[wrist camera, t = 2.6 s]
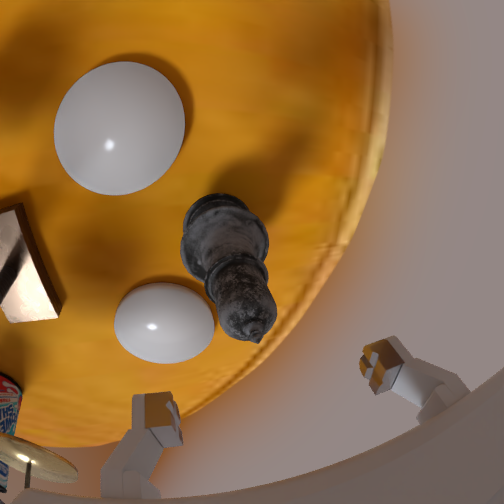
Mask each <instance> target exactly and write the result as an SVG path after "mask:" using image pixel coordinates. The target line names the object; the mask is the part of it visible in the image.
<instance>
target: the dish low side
mask: <svg viewBox="0 0 504 504" xmlns="http://www.w3.org/2000/svg"><path fill="white" fill-rule="evenodd" d="M184 131H185V115H184V109H183V105H182V102H181V99H180V97H179V95H178V93H177V91H176V90H175V88H174V86H173V85H172V84H171V83H170V82H169V80H168V79H167V78H166V77H165V76H163V75H162V74H161V73H160V72H158V71H156V70H155V69H153V68H151V67H149V66H146V65H144V64H140V63H136V62H114V63H109V64H106V65H102V66H100V67H97V68H95V69H93V70H91V71H90V72H88V73H87V74H85V75H84V76H82V77H81V78H80V79H79V80H78V81H77V82H76V83H75V84H74V85H73V86H72V87H71V88H70V89H69V91H68V92H67V93H66V95H65V97H64V98H63V100H62V102H61V104H60V106H59V109H58V112H57V115H56V119H55V125H54V142H55V148H56V152H57V155H58V157H59V160H60V162H61V164H62V166H63V167H64V169H65V170H66V172H67V173H68V174H69V175H70V176H71V177H72V178H73V179H74V180H75V181H76V182H77V183H78V184H80V185H81V186H83V187H85V188H86V189H88V190H91V191H93V192H96V193H100V194H105V195H124V194H129V193H133V192H136V191H139V190H141V189H144V188H146V187H147V186H149V185H151V184H152V183H154V182H155V181H156V180H158V179H159V178H160V177H161V176H162V175H163V174H164V173H165V172H166V171H167V170H168V169H169V168H170V166H171V165H172V163H173V162H174V160H175V159H176V157H177V155H178V153H179V150H180V148H181V145H182V141H183V137H184Z"/></svg>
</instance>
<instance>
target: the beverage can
mask: <svg viewBox="0 0 504 504" xmlns="http://www.w3.org/2000/svg"><path fill="white" fill-rule="evenodd" d="M21 401H22V391H21V389H20V387H19V386H18V384H17V383H16V382H15V381H14V380H12V379H11V378H10V377H8V376H6V375H4V374H2V373H0V432H2V433H6V434H10V435H13V436H14V433H15V428H16V423H17V419H18V414H19V410H20V406H21ZM8 472H9V465H7V464H6V463H4V462H2V461H1V460H0V492H2V493H6V492H7V490H6V487H7V481H8Z"/></svg>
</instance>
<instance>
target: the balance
mask: <svg viewBox="0 0 504 504" xmlns="http://www.w3.org/2000/svg"><path fill="white" fill-rule="evenodd" d="M0 306H1V308H2V310H3V311H4V313H5V315H6V317H7V319H8V320H9V322H10V323H17V322H26V321H35V320H44V319H52V318H58V317H59V315H60V312H61V309H62V305H61V303H60V301H59V298H58V296H57V294H56V292H55V290H54V288H53V285H52V283H51V281H50V278H49V276H48V274H47V271H46V269H45V266H44V264H43V261H42V259H41V256H40V254H39V251H38V248H37V246H36V243H35V240H34V237H33V235H32V232H31V229H30V226H29V223H28V220H27V216H26V213H25V210H24V206H23V203H19V204H16V205H13V206H10V207H7V208H4V209H1V210H0ZM0 460H1V461H2V462H4V463H6V464H7V465H9V466H11V467H13V468H15V469H17V470H19V471H21V472H23V473H26V476H25V489H26V488H30V476H34V477H37V478H40V479H44V480H48V481H52V482H60V483H72V482H75V481H77V479H78V470H77V468H76V467H75V466H74V465H73V464H72V463H71V462H69V461H68V460H66V459H64V458H63V457H61V456H59V455H58V454H56V453H54V452H52V451H50V450H48V449H46V448H43V447H41V446H39V445H37V444H34V443H32V442H29V441H27V440H24V439H22V438H19V437H16V436H13V435H10V434H6V433H2V432H0ZM0 504H5V503H4V502H3V501H1V500H0Z"/></svg>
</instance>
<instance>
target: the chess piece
mask: <svg viewBox="0 0 504 504" xmlns="http://www.w3.org/2000/svg"><path fill="white" fill-rule="evenodd" d="M183 232H184V234H183V237H182V240H181V250H180V254H181V258H182V261H183V264H184V266H185V267H186V269H187V271H188V272H189V273H190V274H191V275H192V276H193V277H195V278H196V279H197V280H199V281H201V282H203V283H204V287H205V291H206V294H207V296H208V297H209V299H210V300H211V301H212V302H214V303H215V304H216V308H217V313H218V317H219V321H220V325H221V327H222V328H223V330H224V331H225V333H226V334H227V335H229V336H230V337H232V338H235V339H237V340H242V341H251V342H254V343H257V344H259V343H260V341H261V339H262V338H263V335H265V334H266V333H267V332H268V331H269V330H270V329H271V328H272V326H273V324H274V322H275V321H276V317H277V307H276V303H275V301H274V299H273V297H272V295H271V293H270V291H269V289H268V286H267V283H268V271H267V268H266V266H265V264H264V263H263V262H264V260H265V258H266V256H267V253H268V247H269V239H268V233H267V231H266V228H265V226H264V224H263V223H262V222H261V221H260V219H259V218H258V217H257V216H256V215H254V214H253V213H251V212H250V211H249V209H248V208H247V206H246V205H245V204H244V203H243V202H242V201H241V200H239V199H238V198H236V197H235V196H231V195H228V194H219V193H216V194H211V195H207V196H205V197H203V198H201V199H199V200H198V201H197V202H195V203H194V204H193V205H192V206H191V207H190V209H189V210H188V212H187V213H186V216H185V219H184V222H183Z"/></svg>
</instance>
